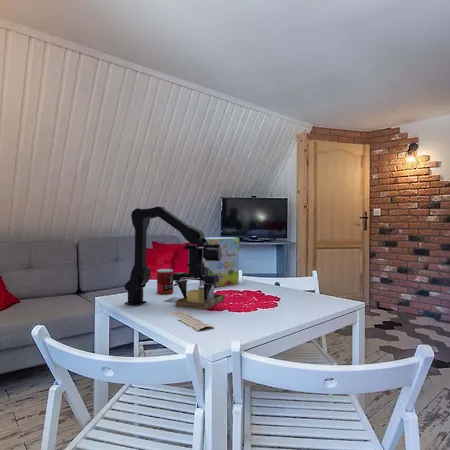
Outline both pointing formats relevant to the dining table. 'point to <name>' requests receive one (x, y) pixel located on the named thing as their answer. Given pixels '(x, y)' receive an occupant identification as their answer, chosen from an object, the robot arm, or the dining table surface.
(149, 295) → the dining table surface
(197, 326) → the tan flat ridged strip
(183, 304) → the walnut tray
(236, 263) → the snack box
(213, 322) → the dining table surface
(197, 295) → the mustard block
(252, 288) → the dining table surface
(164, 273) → the canned food
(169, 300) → the slate pad
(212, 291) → the grey-blue block
